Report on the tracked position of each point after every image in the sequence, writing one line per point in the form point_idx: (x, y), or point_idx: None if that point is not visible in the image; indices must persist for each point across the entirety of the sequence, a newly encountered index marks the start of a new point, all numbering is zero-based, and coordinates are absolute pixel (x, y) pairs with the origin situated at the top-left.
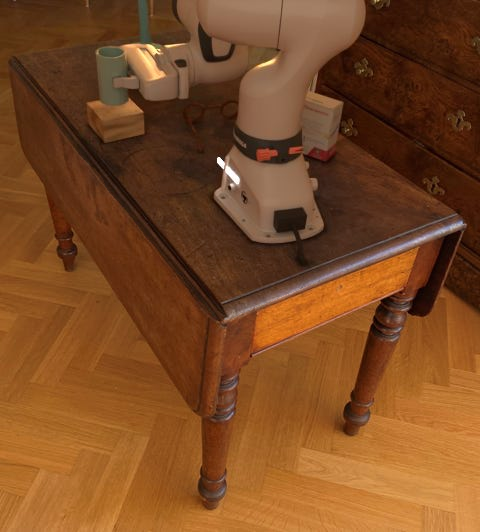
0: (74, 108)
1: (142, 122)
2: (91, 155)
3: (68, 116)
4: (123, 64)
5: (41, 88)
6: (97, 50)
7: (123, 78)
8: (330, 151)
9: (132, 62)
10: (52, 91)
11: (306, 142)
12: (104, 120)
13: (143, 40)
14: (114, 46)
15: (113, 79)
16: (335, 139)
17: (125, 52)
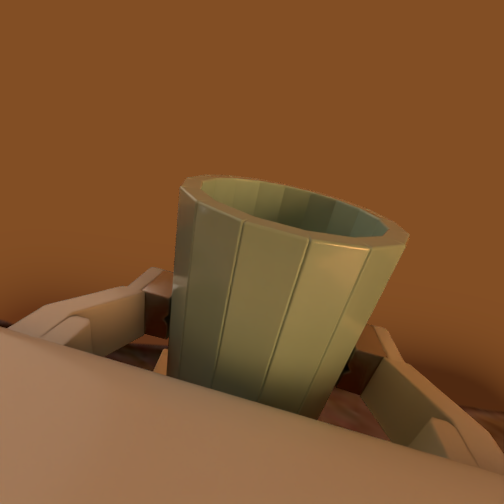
0: (382, 430)
1: None
2: (140, 346)
3: (335, 394)
4: (178, 261)
5: (493, 411)
6: (331, 197)
7: (120, 288)
8: None
9: (269, 430)
10: (484, 427)
11: None
12: (163, 353)
13: None
14: (406, 240)
15: (164, 270)
16: None
17: (238, 217)
